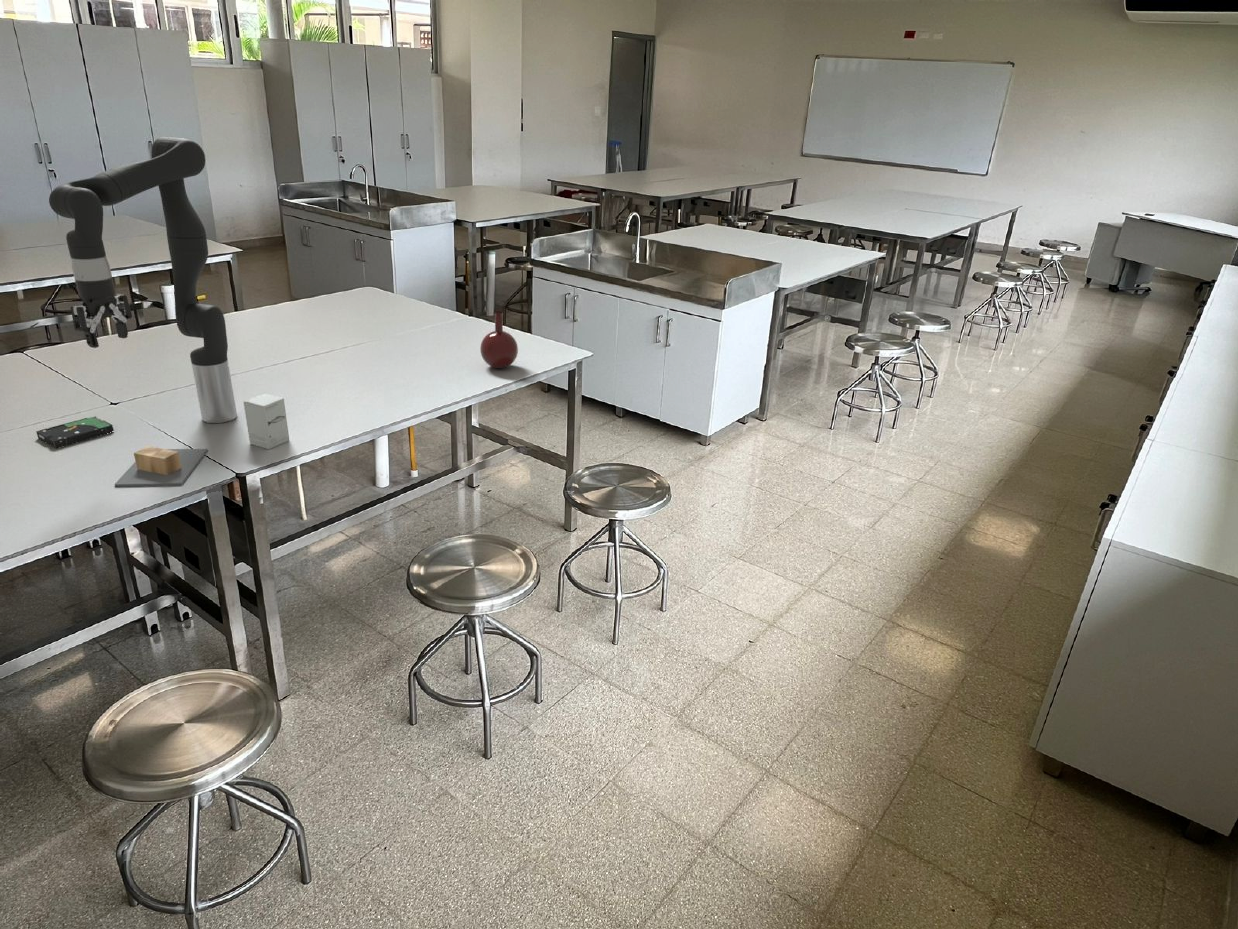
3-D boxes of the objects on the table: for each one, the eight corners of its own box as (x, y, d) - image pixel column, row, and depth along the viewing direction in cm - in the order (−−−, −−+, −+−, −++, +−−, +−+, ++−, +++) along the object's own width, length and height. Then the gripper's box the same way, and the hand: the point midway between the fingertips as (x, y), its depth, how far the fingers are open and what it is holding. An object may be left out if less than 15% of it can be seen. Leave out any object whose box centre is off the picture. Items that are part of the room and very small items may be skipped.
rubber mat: (146, 451, 207) (146, 449, 207) (207, 450, 210) (207, 448, 209) (114, 486, 190) (114, 484, 189) (182, 485, 192) (181, 483, 192)
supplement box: (269, 450, 212) (262, 406, 207) (249, 444, 215) (242, 400, 209) (290, 440, 218) (284, 397, 213) (270, 434, 221) (264, 392, 215)
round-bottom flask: (486, 375, 274) (485, 318, 266) (476, 363, 285) (475, 308, 276) (522, 371, 279) (522, 316, 271) (511, 360, 290) (511, 306, 281)
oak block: (147, 446, 199) (178, 451, 197) (151, 462, 201) (181, 467, 199) (133, 453, 195) (164, 458, 193) (137, 469, 197) (167, 475, 195)
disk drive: (56, 451, 206) (115, 433, 217) (53, 441, 205) (113, 424, 216) (37, 440, 211) (96, 423, 223) (34, 431, 210) (94, 414, 221)
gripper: (80, 284, 179) (97, 352, 186) (130, 271, 191) (144, 336, 198) (53, 280, 181) (71, 348, 188) (105, 268, 193) (120, 332, 200)
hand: (109, 342), depth 193 cm, fingers open, 8 cm apart
